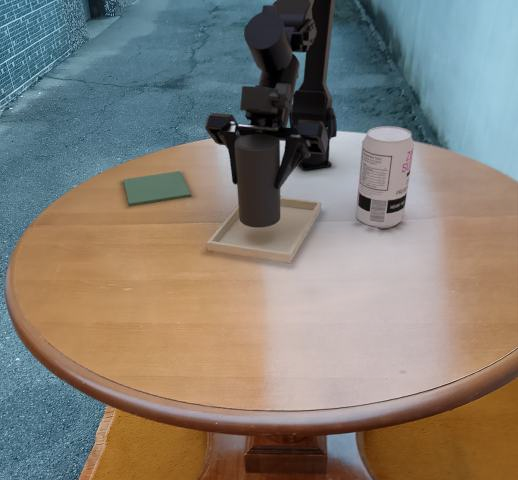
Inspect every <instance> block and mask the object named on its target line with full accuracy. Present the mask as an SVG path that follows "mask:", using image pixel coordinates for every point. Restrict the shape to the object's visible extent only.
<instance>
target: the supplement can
mask: <svg viewBox="0 0 518 480" xmlns="http://www.w3.org/2000/svg"><path fill="white" fill-rule="evenodd" d="M412 136H413V135H412V132H411V131H410V130H408V129H406V128H404V127H399V126H393V125H392V126H391V125H384V126H376V127H372V128H370V129H368V130H367V131H366V135H365V136H364V138H363V140H362V142H361V153H360V162H359V163H360V165H359V175H358V186H357V187H358V188H357V196H356V197H357V198H356V209H355V217H356V219H358V221H359V222H360V223H363V224H364V225H366V226H370V227H376V228H377V229H381V230H382V229H389V228H392V227H395V226H397V225H398V224H400V223H401V222H402V220H403V219H404V214H405V208H406V201H407V196H408V188H409V181H410V175H411V168H412V163H413V162H412V161H413V157H414V149H415V143H414V140H413V137H412Z"/></svg>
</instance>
